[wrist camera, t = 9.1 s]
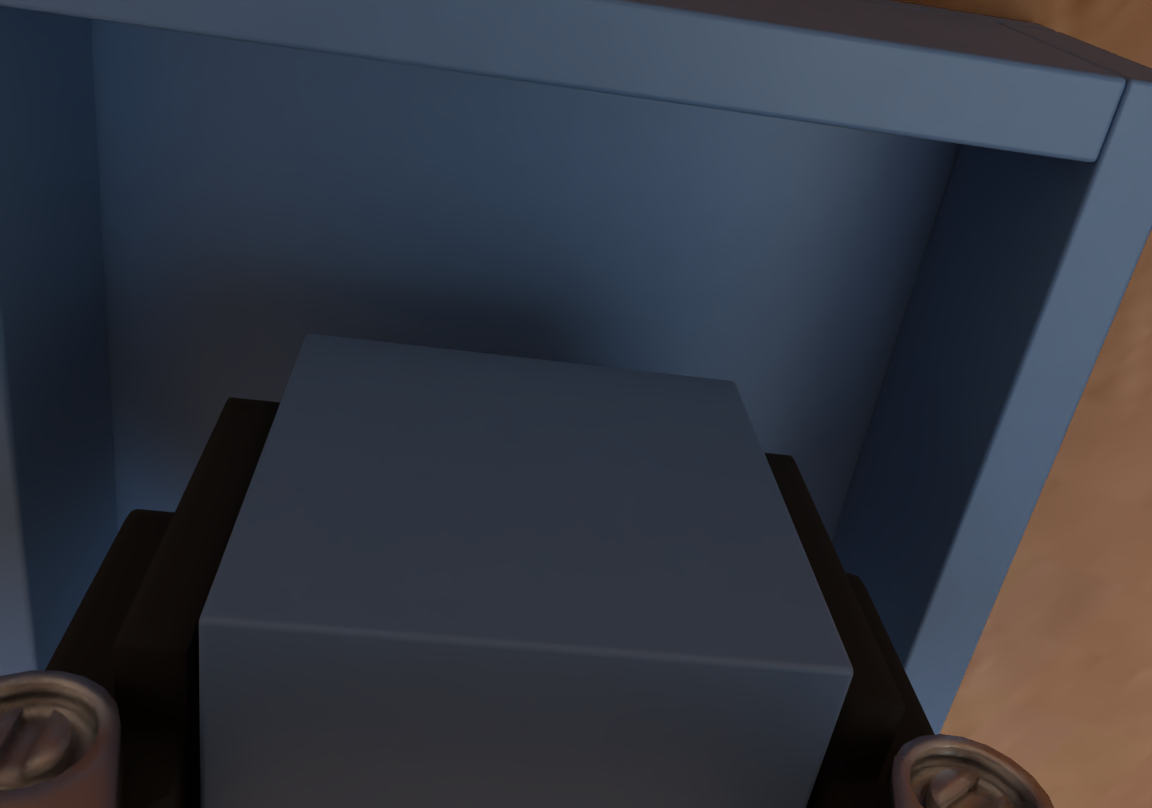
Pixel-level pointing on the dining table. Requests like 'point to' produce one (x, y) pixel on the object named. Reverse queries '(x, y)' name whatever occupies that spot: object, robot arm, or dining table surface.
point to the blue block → (512, 596)
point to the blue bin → (568, 247)
